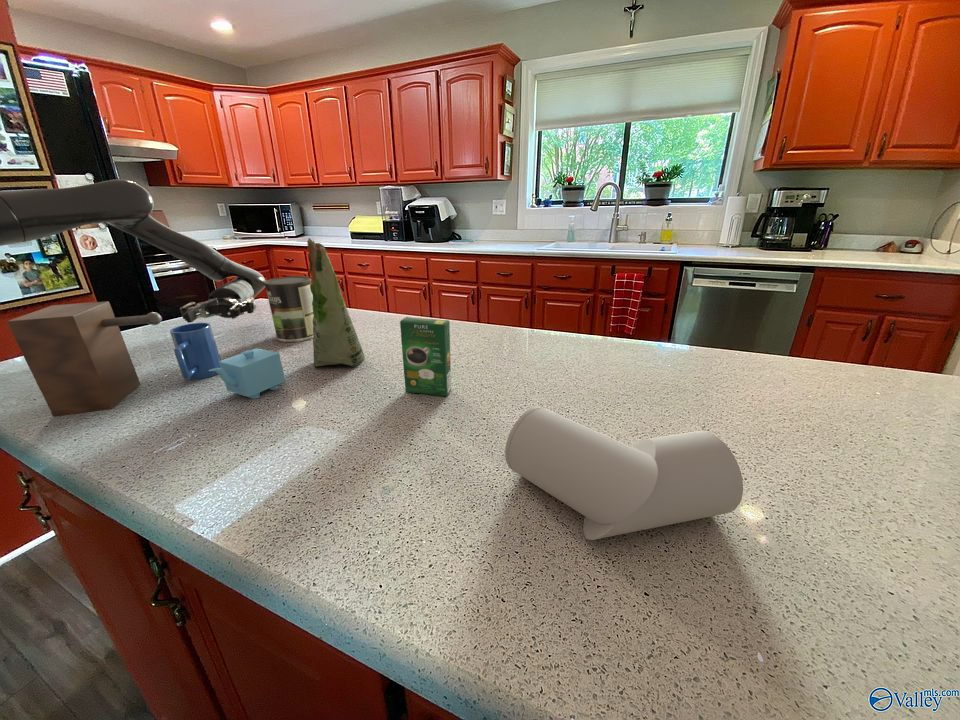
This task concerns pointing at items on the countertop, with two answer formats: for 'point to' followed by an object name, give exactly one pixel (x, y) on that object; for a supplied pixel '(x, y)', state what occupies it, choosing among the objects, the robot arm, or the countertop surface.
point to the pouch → (330, 314)
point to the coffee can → (291, 307)
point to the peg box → (78, 355)
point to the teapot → (251, 372)
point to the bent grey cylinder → (624, 473)
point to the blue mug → (195, 350)
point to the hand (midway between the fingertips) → (210, 316)
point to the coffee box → (426, 355)
